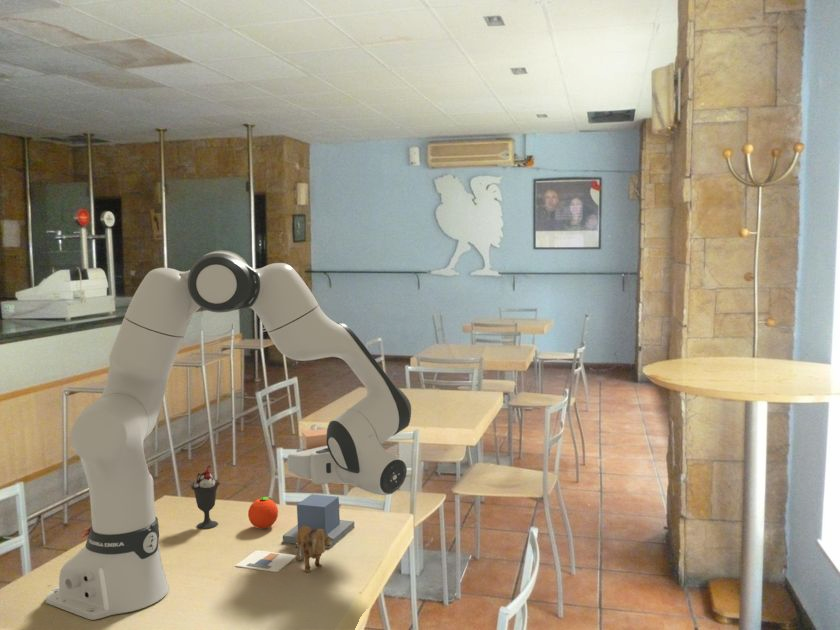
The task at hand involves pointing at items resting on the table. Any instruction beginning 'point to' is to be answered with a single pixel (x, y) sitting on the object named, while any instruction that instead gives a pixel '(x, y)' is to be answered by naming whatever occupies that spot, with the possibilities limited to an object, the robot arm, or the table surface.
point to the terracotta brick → (314, 438)
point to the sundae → (205, 497)
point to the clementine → (263, 513)
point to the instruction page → (266, 561)
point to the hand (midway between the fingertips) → (315, 449)
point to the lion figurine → (312, 545)
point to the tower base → (320, 518)
